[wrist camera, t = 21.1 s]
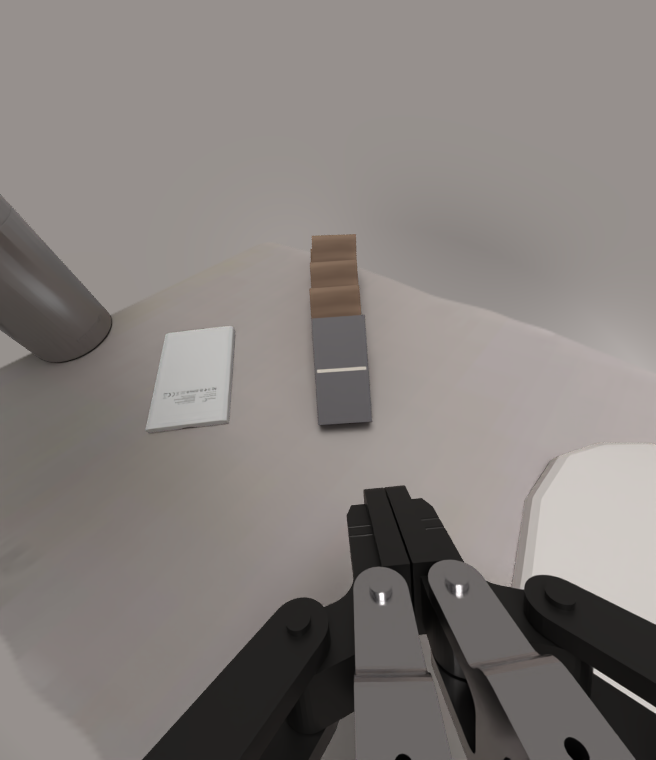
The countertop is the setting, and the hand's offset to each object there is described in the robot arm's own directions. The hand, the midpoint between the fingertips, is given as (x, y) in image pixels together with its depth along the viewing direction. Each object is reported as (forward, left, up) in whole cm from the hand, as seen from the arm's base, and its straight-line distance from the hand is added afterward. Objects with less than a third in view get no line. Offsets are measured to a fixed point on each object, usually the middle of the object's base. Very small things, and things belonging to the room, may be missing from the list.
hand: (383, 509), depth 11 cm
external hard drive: (-21, +11, -17) cm, 30 cm away
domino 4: (-4, +10, -15) cm, 19 cm away
